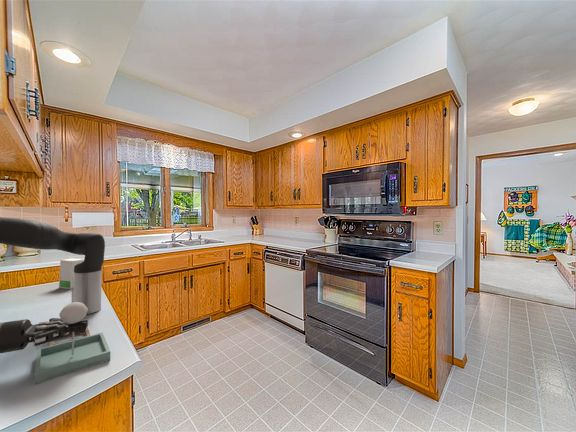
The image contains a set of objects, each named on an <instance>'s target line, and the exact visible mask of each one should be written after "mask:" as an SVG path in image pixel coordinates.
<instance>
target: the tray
mask: <svg viewBox="0 0 576 432" xmlns="http://www.w3.org/2000/svg"><path fill="white" fill-rule="evenodd" d="M82 337H83V336H82ZM78 338H79V337H78ZM74 339H75V338H74ZM70 340H71V341H68V340H66V341H67V342H64V341H62V342H63V343H60V342H58V343H59V344H56V343H55V344H56V345H52V346H50V345H48V346H44V347H41V348H37V350H36V359H35V360H36V361H35V369H34V385H37V384H40V383H43V382H46V381H49V380H50V381H51V380H52V379H55V378H58V377H59V378H60V377H61V376H65V375H68V374H71V373H74V372H78V371H81V370H84V369H87V368H90V367H94V366H96V365H99V364H102V363H105V362H108V361H111V350H110V347H109V344H108V342H107V340H106V337H105V335H104V333H103V332H100V333H96V334H90V336H87V337H83V338H79V339H75V340H74V355H72V339H70Z"/></svg>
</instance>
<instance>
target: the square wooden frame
mask: <svg viewBox="0 0 576 432" xmlns="http://www.w3.org/2000/svg"><path fill="white" fill-rule="evenodd" d="M82 334H84V336H83V335H82ZM79 335H82V336H80V337H76V338H75V337H74V340H75V339H79V338H83V337H87V336H91V333H90V329H89V327H88V326H87V328H86V330H83V331H76V332H74V336H79ZM70 337H72V332H70V333H69V334H66V335H64V337H62V338H59V339H56V340H53V341H50V342H49V346H52V345H56V344H59V343H63V342H67V341H71V340H72V339H68V340H64V341H60V342H56V343H54V341H57V340H62V339H65V338H70Z"/></svg>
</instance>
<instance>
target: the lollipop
mask: <svg viewBox="0 0 576 432" xmlns="http://www.w3.org/2000/svg"><path fill="white" fill-rule="evenodd" d="M87 311H88V308H87V307H86V306H85V305H84V304H83V303H81V302H73V303H71V302H70V303H68V304H66V305H65V306H63V308H62V309H61V310H60V312H59V314H58V315H59V318H61V320H62V321H63V322H64V323H67V324H74V323H77V322H79V321H81V320H84V318H85V317H86V316H87V314H86V313H87ZM71 337H72V338H71V340H72V355H74V339H75V335H74V332H72V336H71Z"/></svg>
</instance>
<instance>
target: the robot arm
mask: <svg viewBox="0 0 576 432" xmlns="http://www.w3.org/2000/svg"><path fill="white" fill-rule="evenodd" d="M0 244H2V245H6V246H12V247H13V246H14V247H19V248H23V249H24V248H26V249H32V250H45V251H47V250H57V251H63V252H66V253H71V254H74V255H79V256H84V259H83V262H82V263H80V264H77V265H75V266H74V288H73V289H71V302H70V303H73V302H81V303H83V304H84V305H85V306H86V307H87V308H88V311H87V313H86V315H90V314H93V313H97V312H99V311H100V310H101V309H102V269H103V267H102V266H103V265H104V262H105V261H104V259H105V248H106V242H105V238H104V236H103V235H101V234H100V233H91V232H90V233H89V232H88V233H86V232H69V231H64V230H60V229H59V228H58V227H56V226H54V225H52V224H49V223H46V222H40V221H37V220H30V219H24V218H15V217H14V218H13V217H3V216H0ZM48 320H49V321H42V322H39V323H37V324H32V321H31V320H30V319H27V318H26V319H18V320H12V321H5V322H0V354H4V353H5V354H6V353H11V352H17V351H18V352H19V351H22V350H24V349H25V348H27V346H28V345H29V344H31V343H33V344H34V345H33V346H34V347H38V346H41V345H44V344H48V343H50V341H53V340H54V341H57V340H56V339H58V340H60V339H59V338H62V337H64V335H66V334H69V333H70V332H76V331H83V330H86V328H87V326H88V325H89V320H88V319H82V320H81V321H79V322H77V323H74V324H67V323H64V322H63V321H62V320H61V318H60V317H58V318H57V317H52V318H50V319H48ZM62 339H63V338H62ZM54 341H53V342H54Z"/></svg>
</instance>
